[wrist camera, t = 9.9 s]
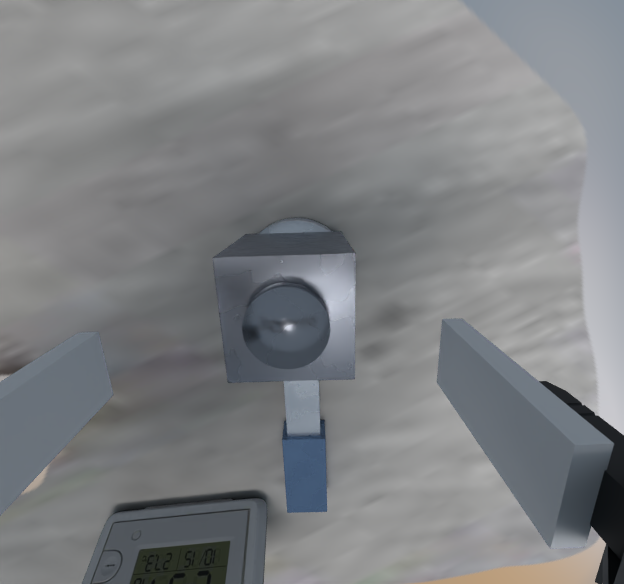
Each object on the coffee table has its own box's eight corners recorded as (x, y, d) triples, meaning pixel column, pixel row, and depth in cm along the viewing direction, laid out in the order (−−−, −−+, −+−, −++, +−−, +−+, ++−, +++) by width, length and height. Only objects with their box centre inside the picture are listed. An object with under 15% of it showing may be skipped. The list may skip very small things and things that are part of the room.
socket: (253, 322, 25) (222, 394, 16) (245, 234, 23) (205, 262, 14) (341, 319, 25) (357, 390, 16) (340, 231, 23) (358, 257, 14)
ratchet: (266, 490, 33) (258, 548, 28) (241, 219, 25) (222, 227, 20) (348, 488, 33) (355, 545, 27) (348, 215, 25) (358, 223, 20)
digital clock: (275, 491, 33) (258, 626, 23) (271, 557, 36) (255, 704, 26) (108, 481, 33) (16, 615, 22) (117, 549, 35) (39, 695, 25)
